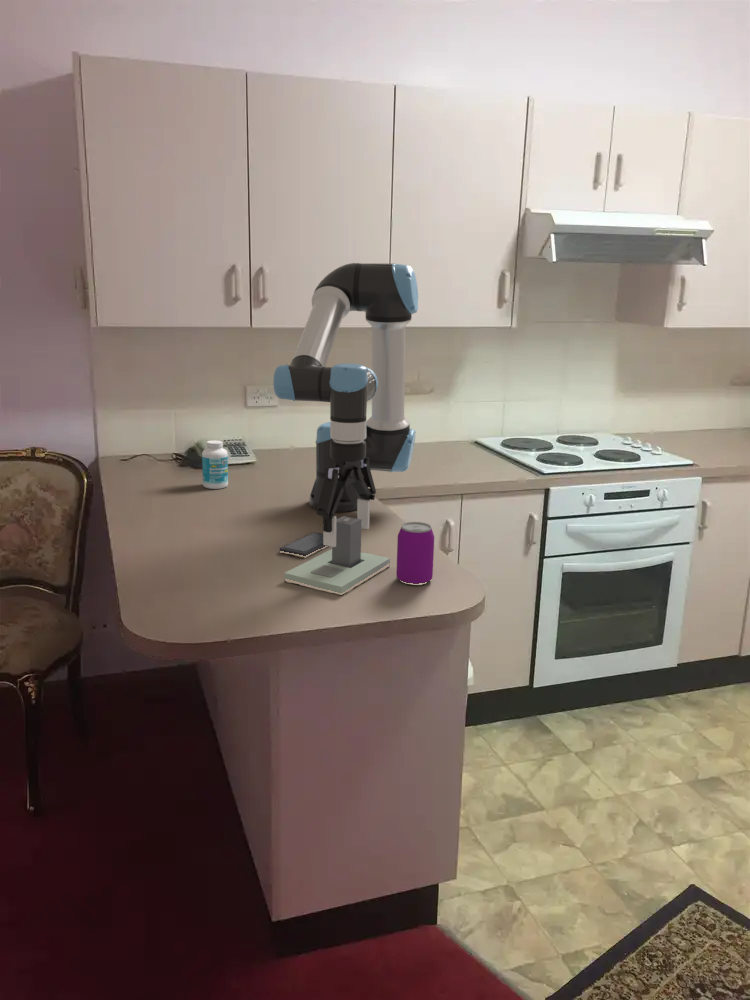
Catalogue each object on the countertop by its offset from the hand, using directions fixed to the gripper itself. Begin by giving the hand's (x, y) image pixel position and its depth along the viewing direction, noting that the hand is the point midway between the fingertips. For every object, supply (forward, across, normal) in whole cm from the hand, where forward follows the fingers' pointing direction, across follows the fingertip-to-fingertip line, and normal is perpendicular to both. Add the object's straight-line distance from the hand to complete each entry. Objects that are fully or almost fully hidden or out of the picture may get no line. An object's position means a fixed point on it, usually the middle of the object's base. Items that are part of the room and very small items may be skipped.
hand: (347, 536), depth 175 cm
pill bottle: (+9, -38, -69) cm, 79 cm away
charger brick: (+7, 0, 0) cm, 7 cm away
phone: (+8, -8, -15) cm, 18 cm away
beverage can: (+8, -2, +15) cm, 17 cm away
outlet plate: (+7, +4, 0) cm, 8 cm away
